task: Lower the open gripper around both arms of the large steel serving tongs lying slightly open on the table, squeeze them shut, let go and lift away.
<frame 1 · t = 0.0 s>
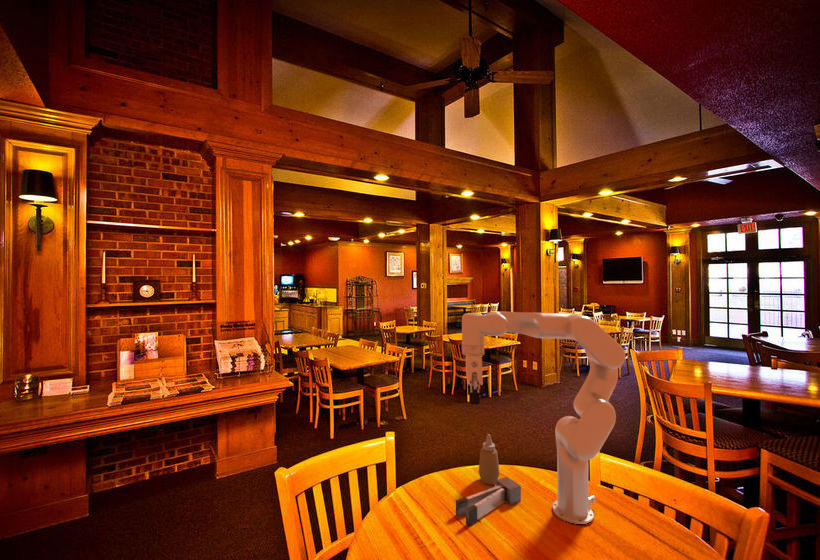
hand: (473, 399, 127), 37 cm above the table, tool pointing down, fingers open, 9 cm apart
tong base: (508, 498, 133), on the table
tong arm: (486, 505, 124), point 3 cm above the table, hinge at 11.0°
squeeze bottle: (489, 481, 144), on the table
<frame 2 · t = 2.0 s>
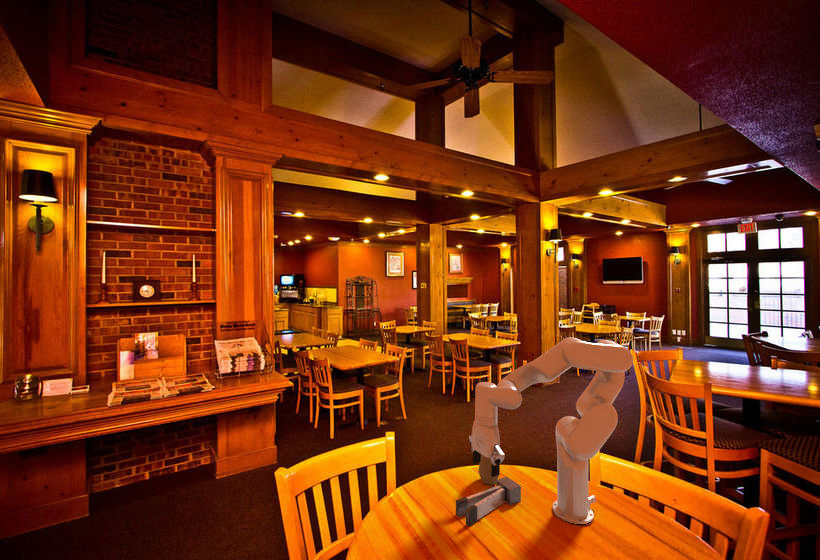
hand: (485, 469, 128), 13 cm above the table, tool pointing down, fingers open, 9 cm apart
nothing on the table moved.
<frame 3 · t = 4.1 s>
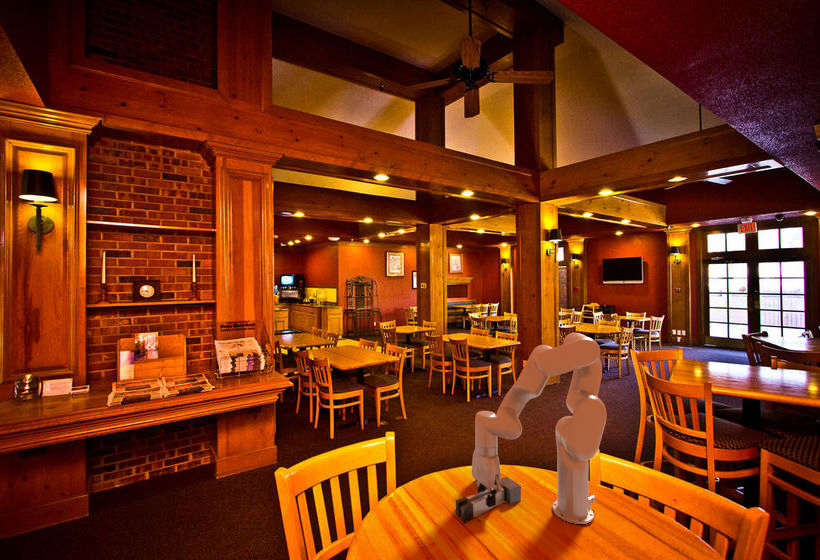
hand: (486, 501, 127), 2 cm above the table, tool pointing down, fingers open, 4 cm apart
tong arm: (483, 504, 125), point 3 cm above the table, hinge at 5.1°, touching gripper
everything else where it was.
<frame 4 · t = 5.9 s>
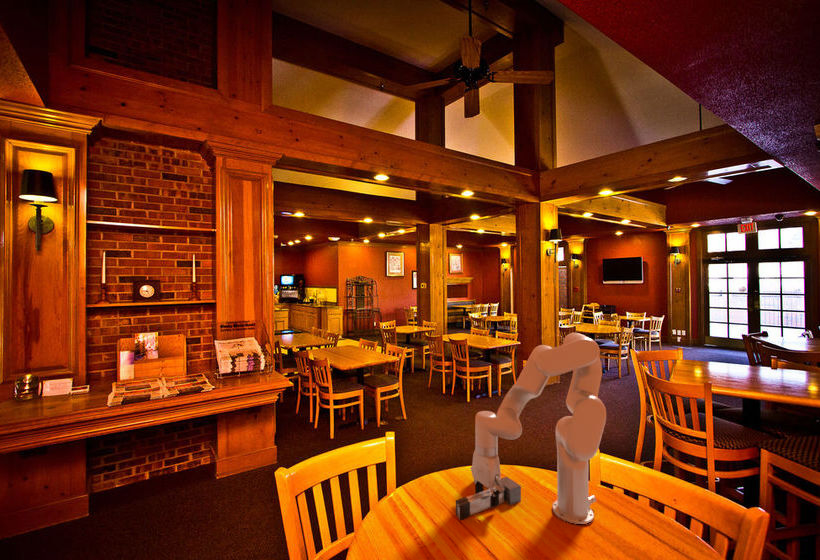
hand: (486, 500, 128), 2 cm above the table, tool pointing down, fingers open, 7 cm apart
tong arm: (481, 503, 125), point 3 cm above the table, hinge at -0.4°
everything else where it was.
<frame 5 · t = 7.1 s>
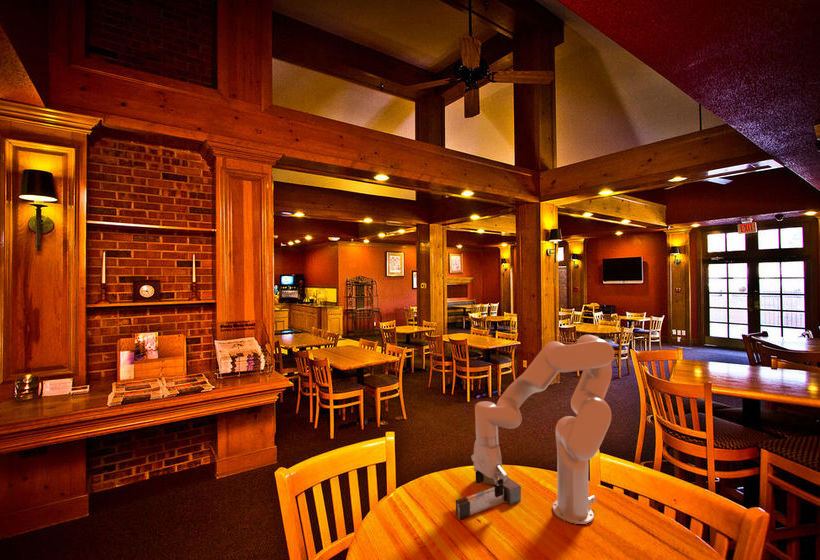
hand: (489, 488, 128), 6 cm above the table, tool pointing down, fingers open, 9 cm apart
nothing on the table moved.
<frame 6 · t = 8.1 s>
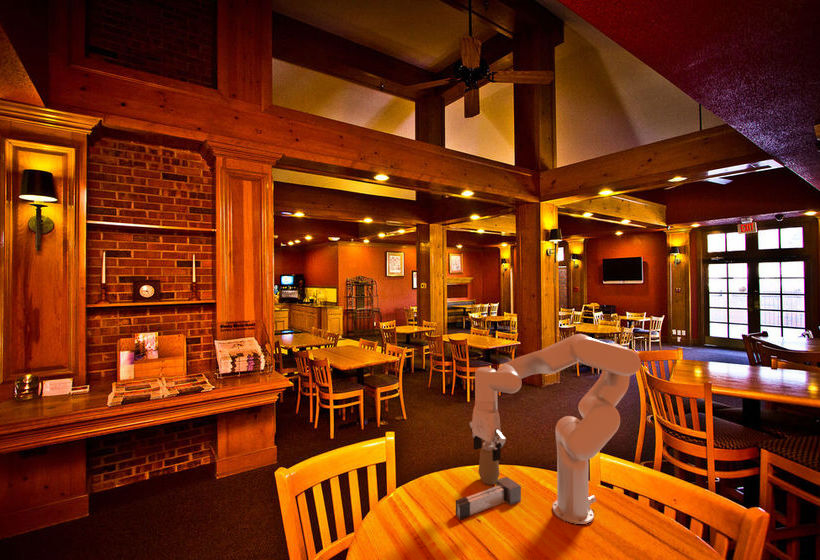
hand: (486, 454, 128), 18 cm above the table, tool pointing down, fingers open, 9 cm apart
nothing on the table moved.
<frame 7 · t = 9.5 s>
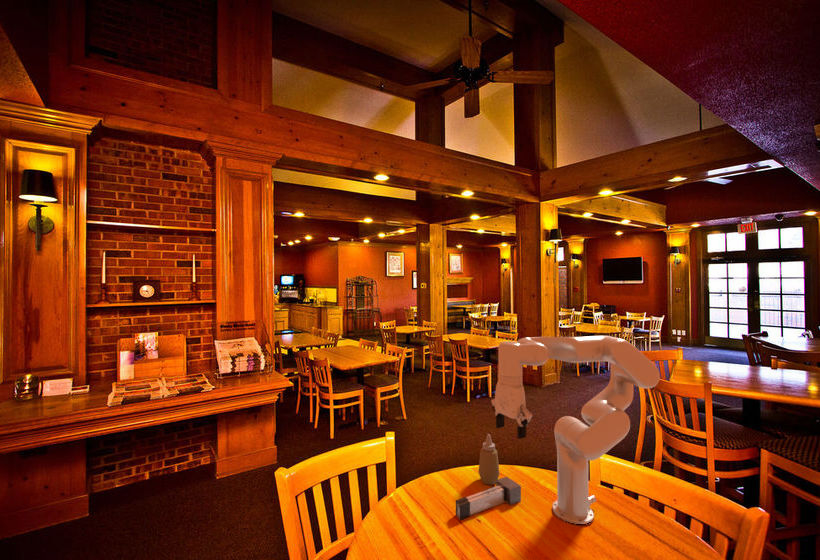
hand: (510, 432, 121), 28 cm above the table, tool pointing down, fingers open, 9 cm apart
nothing on the table moved.
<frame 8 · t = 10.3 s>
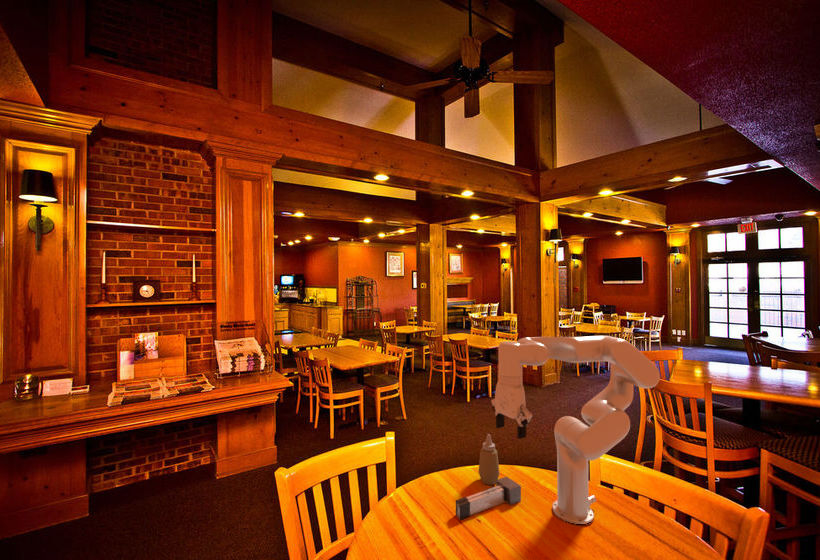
hand: (510, 432, 121), 28 cm above the table, tool pointing down, fingers open, 9 cm apart
nothing on the table moved.
at the end: tong arm at +0° (first picture: +11°); squeeze bottle moved 0.2 cm from its start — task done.
